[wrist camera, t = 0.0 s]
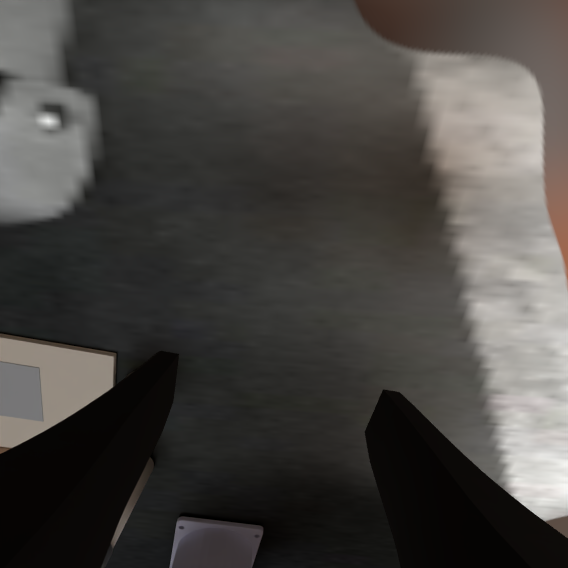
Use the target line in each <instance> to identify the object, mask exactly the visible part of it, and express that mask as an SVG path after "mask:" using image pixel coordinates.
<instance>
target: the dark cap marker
mask: <svg viewBox="0 0 568 568" xmlns="http://www.w3.org/2000/svg"><path fill="white" fill-rule="evenodd" d="M153 468H154V462H153V460H152V459H151V457H150V458H149V460H148V462H147V464H146V466H145V468H144V470H143V472H142V474H141V477H140V479H139V481H138V483H137V485H136V487H135V489H134V491H133V493H132V495H131V497H130V499H129V501H128V503H127V505H126V507H125V510H124V512H123V514H122V516H121V519H120V521H119V523H118V526H117V529H116V531H115V534H114V536H113V539H112V541H111V544H110V546H109V549H108V551H107V554H106V556H105V559H104V561H103V564H102V567H101V568H105V567H106V565H107V563H108V561H109V559H110V557H111V555H112V553H113V547H114V545H115V543H116V541H117V540H118V538H119V536H120V534H121V532H122V530H123V528H124V526H125V524H126V522H127V520H128V518H129V516H130V514H131V512H132V510H133V508H134V506H135V504H136V502H137V500H138V498H139V496H140V494H141V492H142V490H143V488H144V486H145V484H146V482H147V480H148V478H149V476H150V474H151V472H152V470H153Z"/></svg>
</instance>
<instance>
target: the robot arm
mask: <svg viewBox="0 0 568 568" xmlns="http://www.w3.org/2000/svg"><path fill="white" fill-rule="evenodd" d="M178 358H179V354H176V353H170V352H164V351H159V352H158V353H156V354H155V355H154V356H153V357H151V358H150V359H149V360H148V361H146V362H145V363H144V364H143V365H141V366H140V367H139V368H138V369H136V370H135V371H134V372H133V373H131V374H130V375H129V376H127V377H126V378H125V379H123V380H122V381H121V382H119V383H118V384H117V385H115V386H114V387H112V388H111V389H110V390H108V391H107V392H105V393H104V394H103V395H101V396H100V397H98V398H97V399H95V400H94V401H92V402H91V403H89V404H88V405H86V406H85V407H83V408H82V409H80V410H79V411H77V412H75V413H74V414H72V415H71V416H69V417H67V418H66V419H64V420H62V421H61V422H59V423H57V424H56V425H54V426H52V427H50V428H49V429H47V430H45V431H43V432H42V433H40V434H38V435H36V436H34V437H32V438H31V439H29V440H27V441H25V442H23V443H21V444H19V445H17V446H15V447H13V448H11V449H9V450H7V451H5V452H3V453H1V454H0V568H101V567H102V564H103V561H104V559H105V556H106V554H107V551H108V549H109V546H110V544H111V541H112V539H113V536H114V534H115V531H116V529H117V526H118V523H119V521H120V519H121V516H122V514H123V512H124V510H125V507H126V505H127V503H128V501H129V499H130V497H131V495H132V493H133V491H134V489H135V487H136V485H137V483H138V481H139V479H140V477H141V474H142V472H143V470H144V468H145V466H146V464H147V462H148V460H149V458H150V456H151V454H152V452H153V450H154V448H155V446H156V444H157V442H158V440H159V438H160V436H161V433H162V431H163V429H164V426H165V423H166V421H167V418H168V415H169V412H170V409H171V407H172V404H173V399H174V391H175V383H176V375H177V366H178ZM365 436H366V442H367V448H368V453H369V459H370V463H371V466H372V470H373V473H374V477H375V480H376V483H377V486H378V490H379V493H380V496H381V499H382V502H383V506H384V509H385V512H386V515H387V518H388V522H389V525H390V528H391V531H392V534H393V538H394V541H395V545H396V549H397V552H398V557H399V561H400V566H401V568H568V538H566V537H565V536H564V535H562V534H561V533H560V532H558V531H557V530H556V529H554V528H553V527H551V526H550V525H549V524H547V523H546V522H545V521H543V520H542V519H541V518H539V517H538V516H536V515H535V514H534V513H533V512H531V511H530V510H529V509H527V508H526V507H525V506H523V505H522V504H521V503H520V502H518V501H517V500H516V499H515V498H513V497H512V496H511V495H510V494H509V493H507V492H506V491H505V490H504V489H502V488H501V487H500V486H499V485H498V484H496V483H495V482H494V481H493V480H492V479H490V478H489V477H488V476H487V475H486V474H485V473H484V472H482V471H481V470H480V469H479V468H478V467H477V466H476V465H475V464H474V463H472V462H471V461H470V460H469V459H468V458H467V457H466V456H465V455H464V454H463V453H462V452H460V451H459V450H458V449H457V448H456V447H455V446H454V445H453V444H452V443H451V442H450V441H449V440H448V439H447V438H446V437H445V436H444V435H443V434H442V433H441V432H440V431H439V430H438V429H437V428H436V427H435V426H434V425H433V424H432V423H431V422H430V421H429V420H428V419H427V418H426V417H425V416H424V415H423V414H422V413H421V412H420V411H419V410H418V409H417V408H416V407H415V406H414V405H413V404H411V403H410V402H409V401H408V400H407V399H406V398H405V397H404V396H403V395H402V394H401V393H399V392H395V391H389V390H383V391H382V393H381V396H380V398H379V400H378V403H377V405H376V407H375V410H374V412H373V414H372V416H371V419H370V421H369V423H368V426H367V428H366V430H365ZM262 535H263V527H262V526H260V525H252V524H243V523H235V522H227V521H218V520H210V519H202V518H193V517H185V516H181V517H179V518H178V520H177V524H176V530H175V537H174V543H173V549H172V556H171V562H170V568H252V566H253V563H254V560H255V557H256V554H257V550H258V547H259V544H260V541H261V538H262Z"/></svg>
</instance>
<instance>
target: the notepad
mask: <svg viewBox="0 0 568 568" xmlns="http://www.w3.org/2000/svg"><path fill="white" fill-rule="evenodd" d="M116 356H117V353H112V352H106V351H100V350H95V349H89V348H83V347H77V346H71V345H65V344H59V343H53V342H48V341H42V340H36V339H30V338H24V337H18V336H12V335H7V334H1V333H0V454H1V453H3V452H5V451H7V450H9V449H11V448H13V447H15V446H17V445H19V444H21V443H23V442H25V441H27V440H29V439H31V438H32V437H34V436H36V435H38V434H40V433H42V432H43V431H45V430H47V429H49V428H50V427H52V426H54V425H56V424H57V423H59V422H61V421H62V420H64V419H66V418H67V417H69V416H71V415H72V414H74V413H75V412H77V411H79V410H80V409H82V408H83V407H85V406H86V405H88V404H89V403H91V402H92V401H94V400H95V399H97V398H98V397H100V396H101V395H103V394H104V393H105V392H107V391H108V390H110V389H111V388H112V387H114V386H115V385H116Z"/></svg>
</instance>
